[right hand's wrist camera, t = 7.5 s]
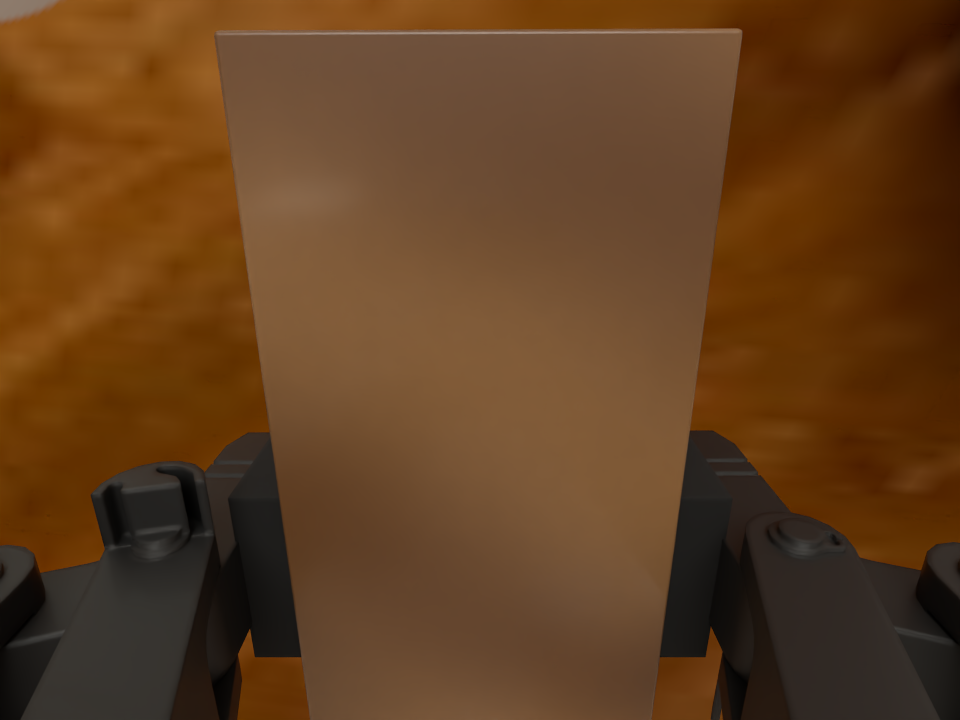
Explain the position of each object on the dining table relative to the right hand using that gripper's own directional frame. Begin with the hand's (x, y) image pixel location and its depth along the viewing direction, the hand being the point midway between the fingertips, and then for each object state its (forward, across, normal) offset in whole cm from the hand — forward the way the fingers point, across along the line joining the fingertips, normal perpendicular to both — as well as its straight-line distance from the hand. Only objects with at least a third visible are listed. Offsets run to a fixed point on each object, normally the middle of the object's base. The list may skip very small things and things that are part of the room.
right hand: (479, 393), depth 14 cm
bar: (+1, 0, -22) cm, 22 cm away
